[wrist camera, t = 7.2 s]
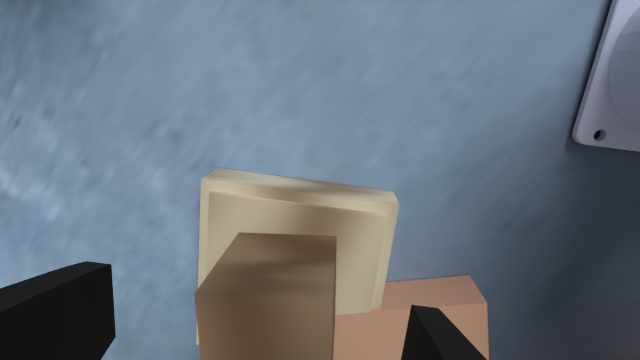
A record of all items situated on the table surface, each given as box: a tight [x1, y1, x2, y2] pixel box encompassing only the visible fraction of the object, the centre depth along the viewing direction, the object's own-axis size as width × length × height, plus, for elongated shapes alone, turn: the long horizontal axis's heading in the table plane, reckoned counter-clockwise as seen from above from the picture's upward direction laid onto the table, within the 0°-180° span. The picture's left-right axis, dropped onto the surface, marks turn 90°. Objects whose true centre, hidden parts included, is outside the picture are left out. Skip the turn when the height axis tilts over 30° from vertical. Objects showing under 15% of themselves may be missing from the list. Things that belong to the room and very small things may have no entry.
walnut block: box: [195, 232, 337, 360], centre depth 15 cm, size 4×4×5 cm
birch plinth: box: [196, 168, 399, 345], centre depth 18 cm, size 9×9×2 cm
